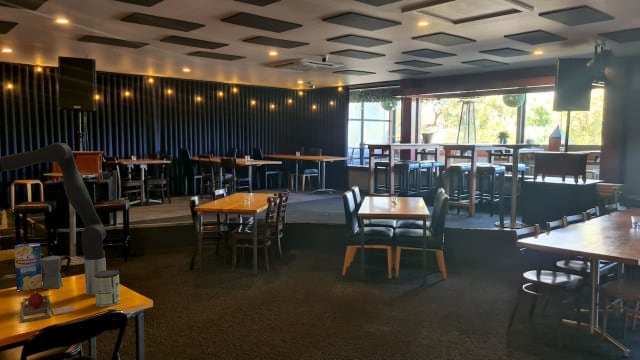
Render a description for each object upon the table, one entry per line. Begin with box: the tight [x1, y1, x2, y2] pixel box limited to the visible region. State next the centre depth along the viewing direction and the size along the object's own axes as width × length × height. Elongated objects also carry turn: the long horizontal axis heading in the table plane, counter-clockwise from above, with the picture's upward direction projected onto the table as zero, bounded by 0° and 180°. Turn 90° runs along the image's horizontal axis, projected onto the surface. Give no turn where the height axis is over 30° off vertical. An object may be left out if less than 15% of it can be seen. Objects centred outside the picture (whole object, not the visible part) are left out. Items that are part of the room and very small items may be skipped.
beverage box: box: [13, 242, 43, 291], centre depth 239 cm, size 7×11×22 cm, turn 120°
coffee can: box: [94, 269, 121, 308], centre depth 216 cm, size 10×10×14 cm
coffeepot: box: [37, 251, 72, 291], centre depth 241 cm, size 15×9×18 cm, turn 117°
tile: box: [51, 305, 76, 317], centre depth 206 cm, size 8×8×1 cm
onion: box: [27, 290, 45, 310], centre depth 209 cm, size 6×6×8 cm
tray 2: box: [22, 300, 51, 312], centre depth 209 cm, size 10×10×1 cm
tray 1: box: [22, 294, 51, 305], centre depth 218 cm, size 10×10×1 cm
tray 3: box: [21, 307, 52, 323], centre depth 200 cm, size 10×10×1 cm
